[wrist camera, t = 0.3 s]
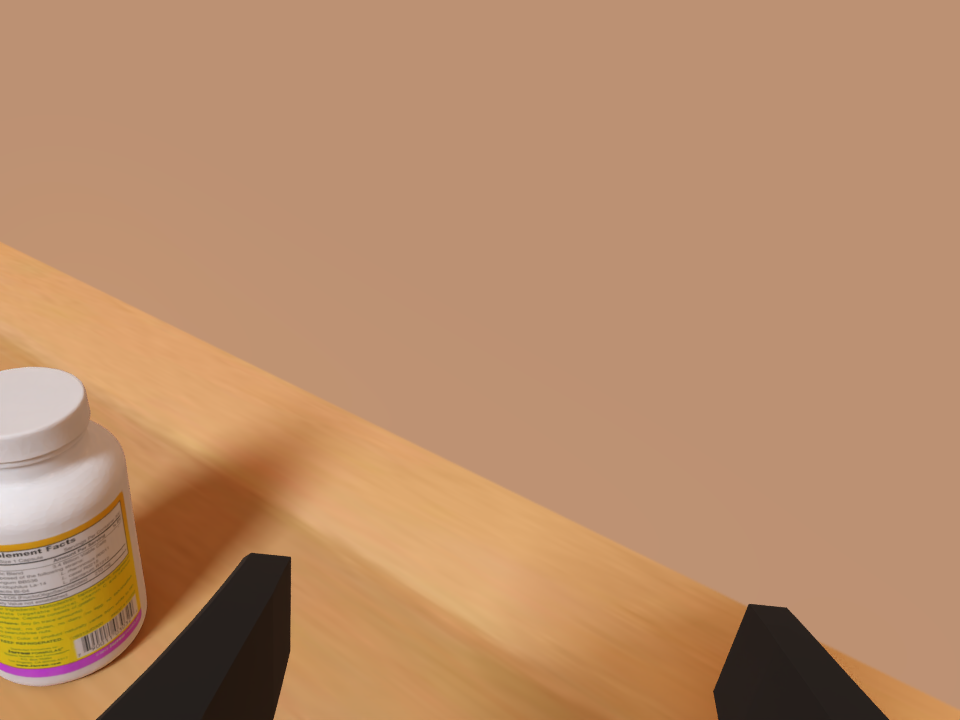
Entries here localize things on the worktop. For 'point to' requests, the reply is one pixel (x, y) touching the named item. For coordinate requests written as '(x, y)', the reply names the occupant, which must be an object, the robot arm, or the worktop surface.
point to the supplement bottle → (62, 534)
